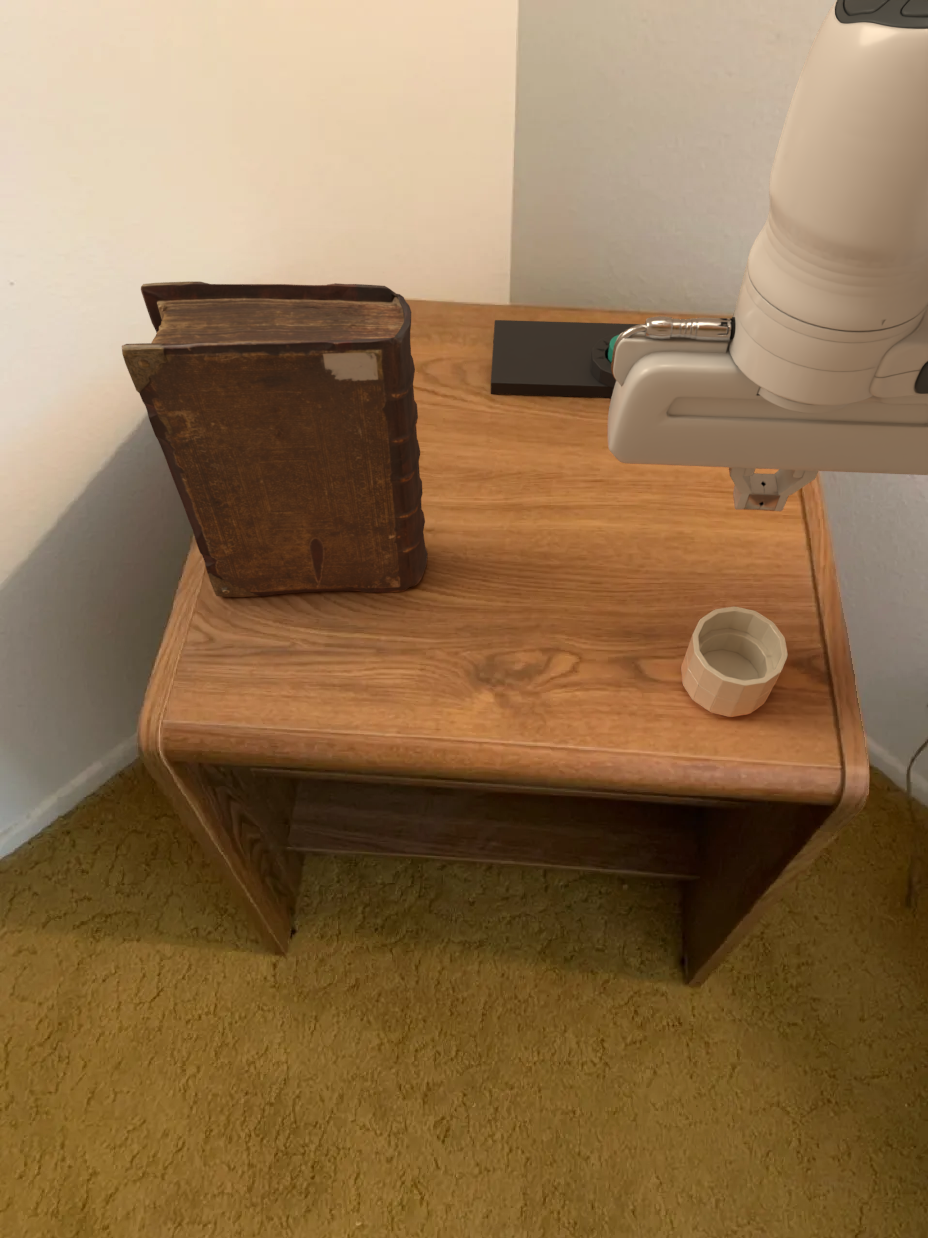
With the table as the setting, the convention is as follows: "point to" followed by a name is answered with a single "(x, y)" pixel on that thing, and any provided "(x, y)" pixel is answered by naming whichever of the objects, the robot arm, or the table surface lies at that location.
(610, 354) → the button
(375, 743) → the table surface
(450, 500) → the table surface
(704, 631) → the beige cup
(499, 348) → the scale
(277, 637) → the table surface
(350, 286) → the book
